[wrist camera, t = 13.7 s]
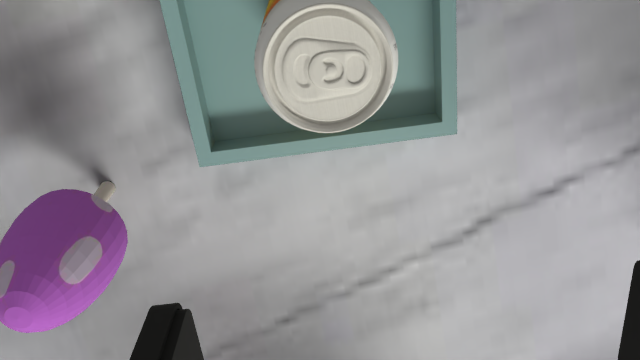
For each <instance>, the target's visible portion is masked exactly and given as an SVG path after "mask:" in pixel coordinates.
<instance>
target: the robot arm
mask: <svg viewBox="0 0 640 360" xmlns="http://www.w3.org/2000/svg"><path fill="white" fill-rule="evenodd" d="M130 360H204V358H203V354H202V351H201V347H200V343H199V339H198V336H197V332H196V328H195V324H194V320H193V317H192V313H191V311H190V309H182V306H181V305H180V304H179V303H173V304H164V305H155V306H152V307H151V308H150V309H149V312H148V314H147V317H146V319H145V322H144V324H143V327H142V329H141V332H140V335H139V337H138V340H137V342H136V345H135V347H134V350H133V352H132V355H131V357H130ZM618 360H640V260H639V261H637V262H636V263H635V265H634V269H633V275H632V280H631V286H630V292H629V297H628V303H627V309H626V314H625V320H624V326H623V331H622V337H621V343H620V348H619V354H618Z"/></svg>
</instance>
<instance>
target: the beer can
mask: <svg viewBox="0 0 640 360" xmlns="http://www.w3.org/2000/svg"><path fill="white" fill-rule="evenodd" d="M254 68H255V76H256V80H257V83H258V86H259V89H260V91H261V93H262V95H263V97H264V99H265V100H266V102H267V103H268V105H269V106H270V107H271V108H272V109H273V111H274V112H275V113H277V114H278V115H279V116H280V117H281V118H283V119H284V120H285V121H287V122H288V123H290V124H292V125H294V126H296V127H299V128H301V129H304V130H308V131H313V132H318V133H335V132H341V131H345V130H348V129H351V128H353V127H355V126H357V125H359V124H361V123H363V122H364V121H366V120H367V119H368V118H369V117H371V116H372V115H373V114H374V113H375V112H376V111H377V110H378V109H379V108H380V107H381V106H382V105H383V103H384V102H385V101H386V99H387V97H388V96H389V94H390V92H391V90H392V88H393V85H394V82H395V79H396V75H397V70H398V50H397V44H396V40H395V37H394V34H393V32H392V29H391V27H390V26H389V24H388V22H387V21H386V19H385V18H384V16H383V15H382V14H381V13H380V12H379V11H378V9H377V8H376V7H375V6H374V5H373V4H372V3H371V2H370V1H369V0H269V2H268V6H267V9H266V13H265V16H264V19H263V23H262V26H261V30H260V33H259V37H258V40H257V44H256V49H255V56H254Z"/></svg>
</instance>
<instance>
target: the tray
mask: <svg viewBox="0 0 640 360" xmlns="http://www.w3.org/2000/svg"><path fill="white" fill-rule="evenodd" d="M369 1H370V2H371V3H372V4H373V5H374V6H375V7H376V8H377V9H378V11H379V12H380V13H381V14H382V15H383V16H384V18H385V19H386V21H387V22H388V24H389V26H390V27H391V29H392V32H393V34H394V37H395V40H396V44H397V50H398V70H397V75H396V79H395V82H394V85H393V88H392V90H391V92H390V94H389V96H388V97H387V99H386V101H385V102H384V103H383V105H382V106H381V107H380V108H379V109H378V110H377V111H376V112H375V113H374V114H373V115H372V116H371V117H369V118H368V119H367V120H366V121H364V122H363V123H361V124H359V125H357V126H355V127H353V128H351V129H348V130H345V131H341V132H335V133H318V132H313V131H308V130H304V129H301V128H299V127H296V126H294V125H292V124H290V123H288V122H287V121H285V120H284V119H283V118H281V117H280V116H279V115H278V114H277V113H275V112H274V111H273V109H272V108H271V107H270V106H269V105H268V103H267V102H266V100H265V99H264V97H263V95H262V93H261V91H260V89H259V86H258V83H257V80H256V76H255V68H254V56H255V49H256V44H257V40H258V37H259V33H260V30H261V26H262V23H263V19H264V16H265V13H266V9H267V6H268V2H269V0H160V4H161V9H162V13H163V17H164V21H165V25H166V29H167V33H168V38H169V42H170V46H171V50H172V54H173V58H174V62H175V67H176V71H177V75H178V79H179V83H180V87H181V92H182V96H183V100H184V104H185V108H186V112H187V116H188V121H189V125H190V129H191V133H192V137H193V141H194V145H195V150H196V154H197V158H198V162H199V166H200V167H205V166H213V165H220V164H228V163H236V162H244V161H251V160H259V159H267V158H275V157H282V156H290V155H298V154H306V153H313V152H321V151H329V150H337V149H344V148H352V147H360V146H368V145H375V144H383V143H391V142H399V141H406V140H414V139H422V138H430V137H437V136H445V135H453V134H457V61H456V0H369Z"/></svg>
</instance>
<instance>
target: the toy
mask: <svg viewBox="0 0 640 360" xmlns="http://www.w3.org/2000/svg"><path fill="white" fill-rule="evenodd" d="M114 191H115V186H114V184H113V183H111V182H109V181H104V182H102V183H101V185H100V186H99V188H98V189H97V191H96V192H95V194H94V195H92V194H90V193H88V192H84V191H79V190H70V189H62V190H57V191H51V192H49V193H47V194H44V195H42V196H40V197H39V198H38V199H36V200H35V201H34V202H33V203H31V204H30V205H29V206H28V207H27V208H25V209H24V210H23V212H22V213H21V214H20V215H19V216H18V217H17V218H16V219H15V221H14V222H13V224H12V225H11V227H10V228H9V230H8V231H7V233H6V234H5V236H4V237H3V239H2V240H1V242H0V321H1V322H2V323H3V324H4V325H5V326H7V327H8V328H10V329H13V330H15V331H19V332H26V333H29V332H42V331H47V330H50V329H53V328H55V327H57V326H60V325H62V324H64V323H66V322H68V321H70V320H72V319H73V318H74V317H76V316H77V315H79V314H80V313H81V312H83V311H84V310H85V309H86V308H87V307H88V306H90V305H91V304H92V303H93V302H94V301H95V300H96V299H97V298H98V296H99V295H100V294H101V293H102V292H103V291H104V290H105V288H106V287H107V286H108V284H109V283H110V282H111V280H112V279H113V277H114V275H115V273H116V272H117V270H118V268H119V266H120V264H121V262H122V260H123V258H124V254H125V251H126V247H127V242H128V240H127V230H126V227H125V224H124V222H123V220H122V219H121V217H120V215H119V214H118V212H117V211H116V210H115V209H114V208H113V207H112V206H111V205H110V204H108V203H107V201H108V200H109V198H110V197H111V196H112V194H113V193H114Z"/></svg>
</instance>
